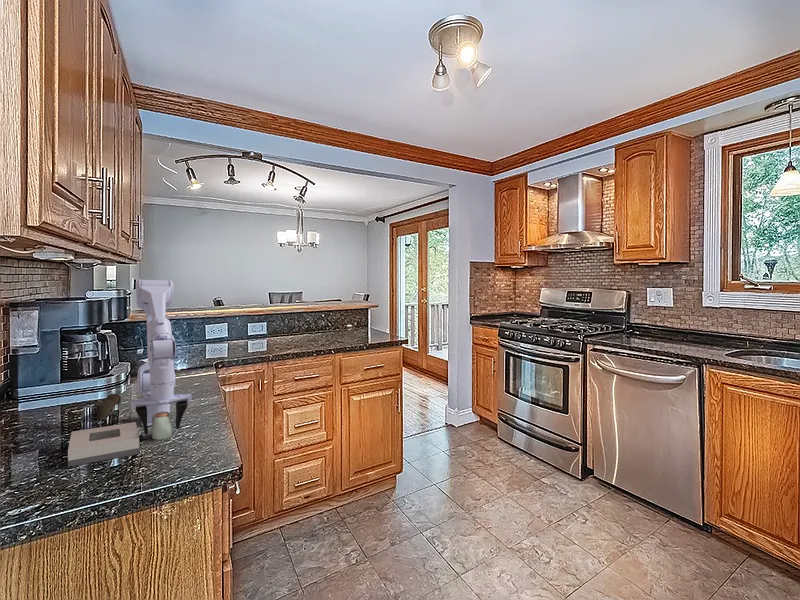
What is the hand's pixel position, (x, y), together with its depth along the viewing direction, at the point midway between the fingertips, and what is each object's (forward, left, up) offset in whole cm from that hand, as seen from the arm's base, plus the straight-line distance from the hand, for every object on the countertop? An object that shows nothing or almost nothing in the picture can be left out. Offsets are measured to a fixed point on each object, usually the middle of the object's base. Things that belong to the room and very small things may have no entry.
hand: (162, 430), depth 115 cm
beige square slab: (+3, -13, -2) cm, 13 cm away
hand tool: (-33, -12, -2) cm, 35 cm away
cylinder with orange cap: (0, 0, -2) cm, 2 cm away
